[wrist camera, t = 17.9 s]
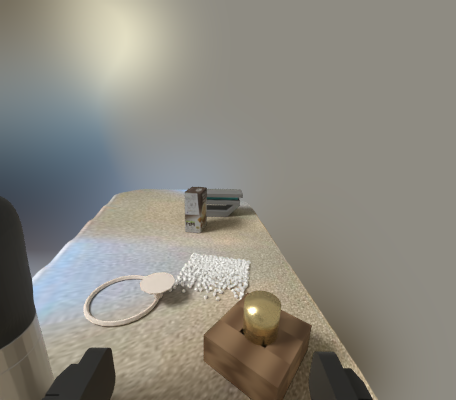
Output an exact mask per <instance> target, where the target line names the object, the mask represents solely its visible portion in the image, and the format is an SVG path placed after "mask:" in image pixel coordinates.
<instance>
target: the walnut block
mask: <svg viewBox="0 0 456 400" xmlns="http://www.w3.org/2000/svg"><path fill="white" fill-rule="evenodd" d="M248 294H249V293H247V294H246V295H245V296H244V297H243V298H242V299H241V300H240V301H239V302H238V303H236V304H235V305H234V306H233V307H232V308H231V309H230V310H229V311H228V312H227V313H226V314H225V315H224V316H223V317H222V318H221V319H220V320H219V321H218V322H217V323H216V324H215V325H214V326H213V327H211V328H210V329H209V330H208V331H207V332H206V333H205V334H204V361H205V362H206V363H207V364H208V365H210V366H211V367H212V368H213V369H215V370H216V371H217V372H218V373H220V374H221V375H222V376H223V377H225V378H226V379H227V380H228V381H230V382H231V383H232V384H233V385H235V386H236V387H237V388H238V389H239V390H241V391H242V392H243V393H244V394H246V395H247V396H248V397H249V398H251V399H252V400H283V398H284V396H285V394H286V392H287V390H288V388H289V386H290V384H291V382H292V380H293V378H294V376H295V374H296V372H297V370H298V368H299V366H300V364H301V362H302V360H303V358H304V356H305V354H306V352H307V349H308V343H309V338H310V332H311V327H312V325H310V324H308V323H306V322H304V321H302V320H300V319H298V318H296V317H294V316H292V315H290V314H288V313H286V312H284V311H282V310H281V312H280V320H279V328H278V336H277V339H276V340H275V342H273V343H272V344H270V345H267V347H266V348H264V347H262V346H259V345H255V344H253V343H251V342H250V341H248V340H247V339H246V337H245V336H244V334H243V316H244V301H245V298H246V296H247V295H248Z"/></svg>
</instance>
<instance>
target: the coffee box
mask: <svg viewBox="0 0 456 400" xmlns="http://www.w3.org/2000/svg"><path fill="white" fill-rule="evenodd" d="M206 219H207V188H204V187H191V188H190V189H188V190H187V191H186V192H185V231H186V232H194V233H201V231H202V230H203V229H204V227H205V226H206Z"/></svg>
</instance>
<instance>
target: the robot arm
mask: <svg viewBox="0 0 456 400" xmlns="http://www.w3.org/2000/svg"><path fill="white" fill-rule="evenodd" d="M114 385H115V369H114V362H113V356H112V350H111V348H89V349H88V350H87V351H86V352H85V354H84V356H83V357H82V359H81V361H80V362H79V364H71V365H70V366H68V367H67V368H66V369H65V370H64V371H63V372H62V373H61V374H60V375H59V376H58V377H57V378H56V379H55V380H54V377H53V373H52V369H51V366H50V362H49V358H48V354H47V350H46V347H45V343H44V339H43V335H42V331H41V328H40V325H39V321H38V317H37V313H36V309H35V305H34V300H33V285H32V278H31V273H30V270H29V264H28V259H27V254H26V247H25V241H24V235H23V230H22V226H21V222H20V219H19V216H18V214H17V212H16V210H15V208H14V207H13V206H12V204H11V203H10V202H9V201H8V200H6V199H5V198H3V197H1V196H0V400H110V398H111V396H112V393H113V390H114ZM309 390H310V395H311V399H312V400H373V399H372V397H371V395H370V393H369V391H368V390H367V388H366V386H365V384H364V382H363V381H362V380H361V379H360V378H359V377H358V376H357V375H356V373H355V372H354V371H353V370H352V369H351V368H343V367H342V365H341V363H340V361H339V359H338V357H337V355H336V354H335V353H334V352H314V353H313V358H312V364H311V369H310V375H309Z"/></svg>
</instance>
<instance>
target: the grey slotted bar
mask: <svg viewBox="0 0 456 400" xmlns="http://www.w3.org/2000/svg"><path fill="white" fill-rule="evenodd" d="M242 197H243V194H242V191H241V190H234V189H232V190H231V189H207V204H214V205H207V217H227V216H228V215H230V214H231V213H232V212H233V211H234V210H235V209H237V208H238V207H239V206H240V200H239V198H242Z"/></svg>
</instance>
